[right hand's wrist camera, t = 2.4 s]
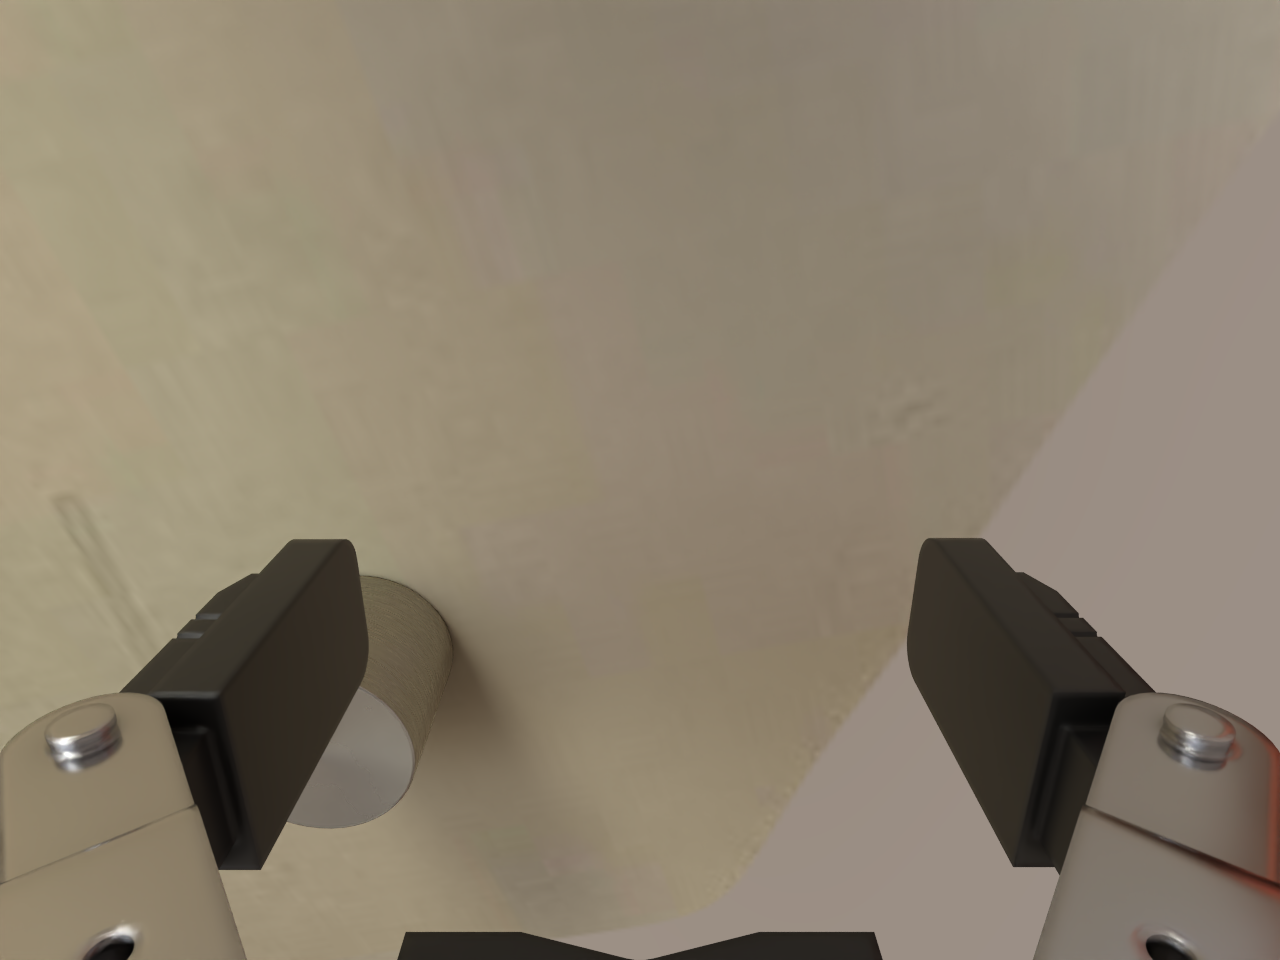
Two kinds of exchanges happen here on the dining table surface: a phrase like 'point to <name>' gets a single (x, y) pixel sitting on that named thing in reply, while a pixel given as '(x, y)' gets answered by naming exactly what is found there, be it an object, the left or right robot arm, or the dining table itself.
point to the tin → (382, 712)
